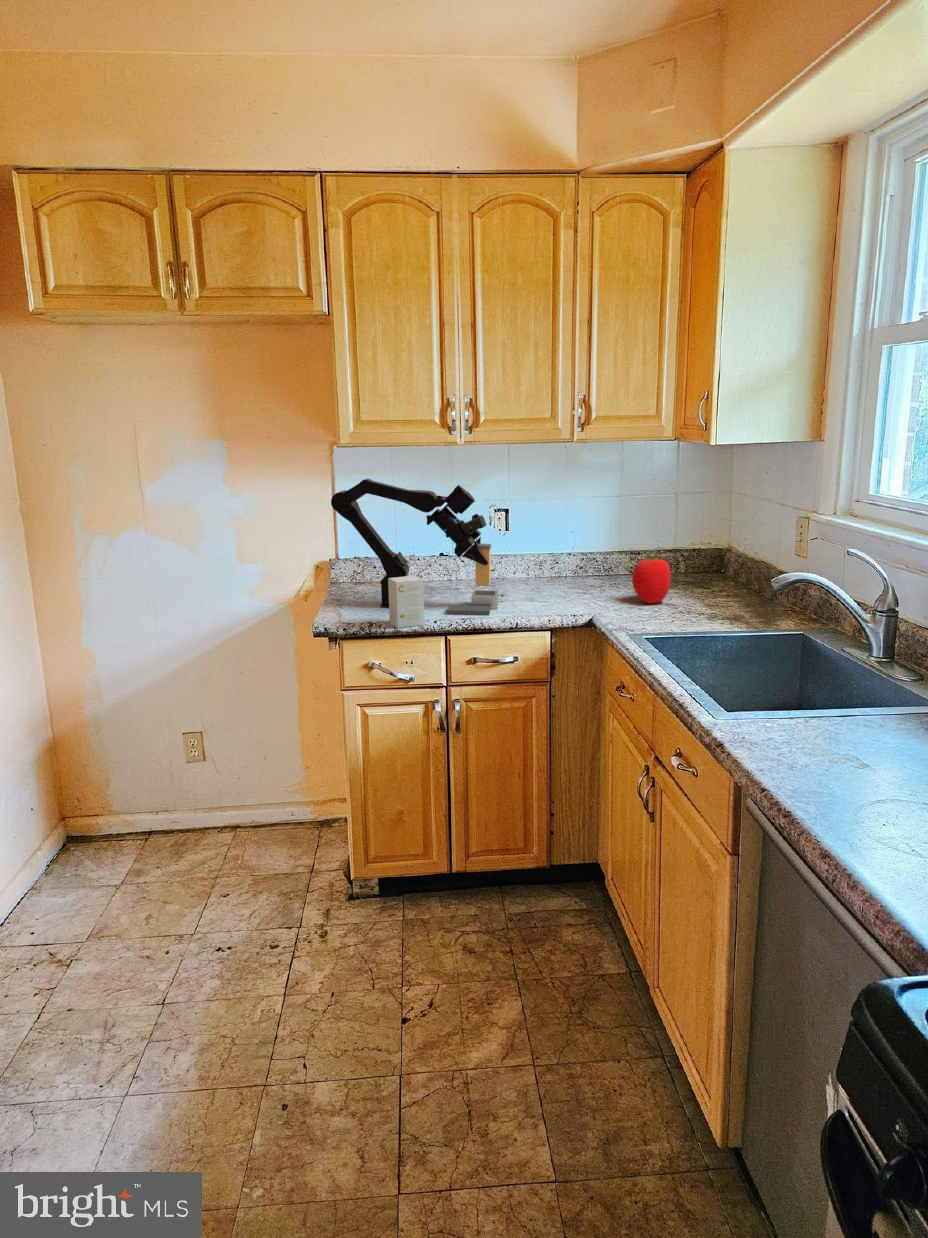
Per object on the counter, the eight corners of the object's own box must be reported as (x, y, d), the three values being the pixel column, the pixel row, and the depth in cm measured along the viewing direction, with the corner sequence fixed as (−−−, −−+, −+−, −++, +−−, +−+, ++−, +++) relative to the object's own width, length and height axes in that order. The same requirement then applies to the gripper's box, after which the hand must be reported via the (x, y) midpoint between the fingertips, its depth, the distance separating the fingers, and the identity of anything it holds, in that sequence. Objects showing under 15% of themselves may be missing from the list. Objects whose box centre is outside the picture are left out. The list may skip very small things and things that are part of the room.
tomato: (663, 608, 248) (666, 561, 244) (626, 604, 253) (628, 558, 249) (674, 599, 259) (676, 554, 255) (638, 596, 264) (640, 551, 260)
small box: (416, 620, 236) (415, 574, 233) (424, 625, 231) (423, 579, 227) (389, 623, 233) (387, 577, 230) (396, 628, 227) (395, 581, 224)
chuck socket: (471, 608, 249) (471, 595, 248) (473, 602, 256) (473, 590, 255) (496, 609, 248) (496, 596, 247) (498, 603, 255) (498, 590, 254)
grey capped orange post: (475, 586, 248) (475, 545, 245) (476, 583, 252) (477, 543, 249) (489, 586, 247) (489, 546, 244) (490, 583, 251) (491, 543, 248)
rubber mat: (447, 614, 242) (447, 610, 242) (450, 609, 248) (450, 605, 248) (489, 615, 241) (489, 611, 241) (490, 609, 247) (490, 606, 247)
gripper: (465, 509, 235) (504, 549, 236) (474, 502, 253) (510, 539, 254) (438, 537, 238) (476, 576, 239) (448, 527, 256) (484, 564, 257)
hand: (487, 563), depth 247 cm, fingers closed on grey capped orange post, 4 cm apart
